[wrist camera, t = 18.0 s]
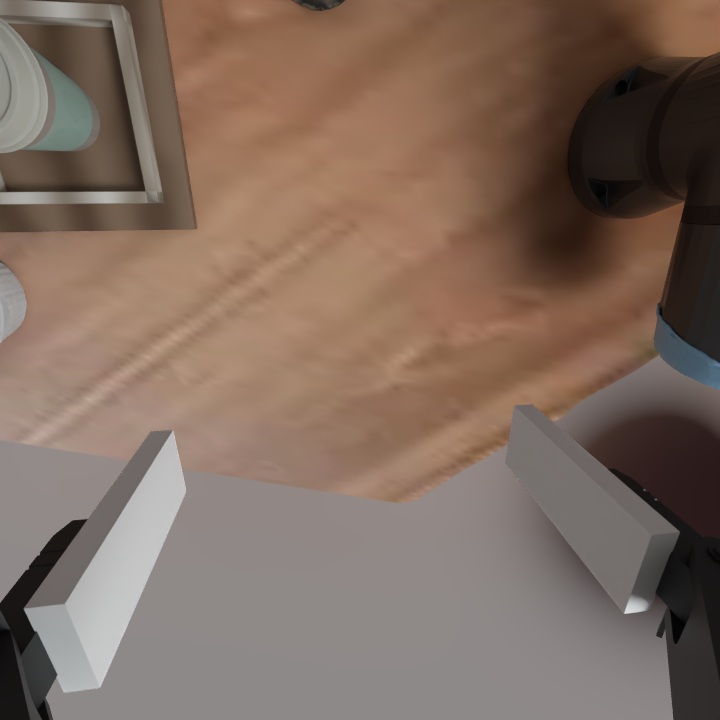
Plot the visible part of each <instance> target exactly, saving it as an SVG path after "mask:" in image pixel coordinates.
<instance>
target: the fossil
mask: <svg viewBox="0 0 720 720" xmlns="http://www.w3.org/2000/svg"><path fill="white" fill-rule="evenodd" d="M293 1H296V2H298V3H300V5H301V6H304V7H307V8H308V9H310V10H317V11H323V10H327V9H331V8H333V7H336V6H338V5H340V4H341V3H343V2H344V1H345V0H293Z"/></svg>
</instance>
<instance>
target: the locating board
mask: <svg viewBox="0 0 720 720" xmlns="http://www.w3.org/2000/svg"><path fill="white" fill-rule="evenodd" d="M0 18H1V19H3V20H4V21H5V22H6V23H7V24H9V25H10V26H11V27H12V28H13V29H14V30H15V31H16V32H17V33H18V34H19V35H20V37H21V38H22V39H23V40H24V41H25V43H26V44H28V45H29V46H30V47H31V48H33V49H34V50H35V51H36V52H38V53H39V54H40V55H41V56H43V57H44V58H45V59H46V60H48V61H49V62H50V63H51V64H53V65H54V66H55V67H56V68H58V69H59V70H60V71H61V72H63V73H64V74H65V75H67V76H68V77H69V78H70V79H71V80H73V81H74V82H75V83H76V84H78V85H79V86H80V87H81V88H82V89H84V90H85V91H86V92H87V94H88V95H89V96H90V97H91V99H92V100H93V102H94V104H95V106H96V108H97V110H98V114H99V118H100V131H99V134H98V137H97V139H96V141H95V142H94V143H93V144H92V145H91V146H90V147H88V148H87V149H84V150H82V151H47V150H21V149H19V150H16V151H13V152H8V153H0V232H43V231H108V230H173V229H197V224H196V217H195V211H194V205H193V198H192V192H191V186H190V179H189V173H188V167H187V160H186V154H185V147H184V141H183V135H182V128H181V122H180V116H179V109H178V103H177V97H176V90H175V84H174V77H173V71H172V65H171V58H170V52H169V46H168V39H167V33H166V27H165V20H164V14H163V7H162V1H161V0H0Z"/></svg>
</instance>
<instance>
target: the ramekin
mask: <svg viewBox="0 0 720 720" xmlns="http://www.w3.org/2000/svg"><path fill="white" fill-rule="evenodd" d="M26 305H27V303H26V297H25V293H24V290H23V288H22V286H21V284H20V282H19V280H18V279H17V278H16V276H15V275H14V274H13V273H12V272H11V270H10V269H9V268H8V267H6V266H5V265H4V264H3V263H2V262H0V343H1V342H2V340H4V339H5V338H6V337H8V336H9V335H10V334H12V333H13V332H14V331H15V330H17V329H18V327H19V326H20V325H21V323H22V321H23V320H24V317H25V315H26V310H27V309H26Z"/></svg>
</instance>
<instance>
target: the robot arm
mask: <svg viewBox="0 0 720 720" xmlns="http://www.w3.org/2000/svg"><path fill="white" fill-rule="evenodd" d="M568 167H569V175H570V180H571V183H572V186H573V189H574V191H575V193H576V195H577V197H578V198H579V200H580V201H581V202H582V203H583V205H584V206H585V207H587V208H588V209H589V210H590V211H592V212H593V213H595V214H597V215H600V216H603V217H607V218H622V219H630V218H639V217H643V216H647V215H650V214H653V213H655V212H658V211H661V210H663V209H666V208H669V207H671V206H674V205H676V204H679V203H682V202H684V201H685V204H684V209H683V213H682V217H681V221H680V224H679V228H678V232H677V237H676V241H675V245H674V249H673V253H672V257H671V261H670V265H669V269H668V273H667V277H666V281H665V285H664V289H663V293H662V297H661V301H660V302H659V303H658V305H657V309H656V314H657V324H656V329H655V335H654V345H655V348H656V350H657V351H658V353H659V354H660V356H661V358H662V359H663V360H664V361H665V362H666V363H667V364H668V365H670V366H671V367H672V368H674V369H675V370H677V371H678V372H680V373H682V374H684V375H685V376H688V377H690V378H692V379H694V380H696V381H698V382H700V383H703V384H705V385H708V386H710V387H713V388H716V389H719V390H720V52H719V53H716V54H713V55H711V56H708V57H658V58H653V59H649V60H646V61H643V62H640V63H638V64H636V65H633V66H631V67H629V68H627V69H625V70H623V71H620V72H619V73H617V74H615V75H614V76H612V77H611V78H610V79H608V80H607V81H606V82H605V83H604V84H602V85H601V86H600V87H599V88H598V89H597V90H596V92H595V93H594V94H593V95H592V96H591V98H590V99H589V100H588V102H587V103H586V105H585V106H584V108H583V110H582V112H581V114H580V115H579V118H578V120H577V122H576V125H575V127H574V130H573V133H572V137H571V141H570V146H569V155H568ZM506 464H507V465H508V466H509V468H510V469H511V470H512V471H513V473H514V474H515V475H516V477H517V478H518V479H519V481H520V482H521V483H522V484H523V485H524V487H525V488H526V489H527V491H528V492H529V493H530V494H531V496H532V497H533V498H534V500H535V501H536V502H537V503H538V505H539V506H540V507H541V509H542V510H543V511H544V512H545V514H546V515H547V516H548V518H549V519H550V520H551V521H552V523H554V525H555V527H556V528H557V529H558V530H559V532H560V533H561V534H562V535H563V537H564V538H565V539H566V540H567V542H568V543H569V544H570V546H571V547H572V548H573V550H574V551H575V552H576V553H577V555H578V556H579V557H580V558H581V560H582V561H583V562H584V563H585V565H586V566H587V567H588V568H589V570H590V571H591V572H592V574H593V575H594V576H595V578H596V579H597V580H598V581H599V583H600V584H601V585H602V587H603V588H604V589H605V590H606V592H607V593H608V594H609V595H610V597H611V598H612V599H613V601H614V602H615V603H616V604H617V606H618V607H619V608H620V610H621V611H622V612H623V613H624V614H626V613H633V612H640V611H647V610H650V608H651V606H652V603H653V601H654V598H655V595H656V594H657V595H658V596H659V597H660V598H661V599H662V600H663V601H664V603H665V604H666V605H667V608H666V611H665V613H664V615H663V618H662V620H661V623H660V625H659V628H658V631H657V635H656V636H658V637H660V638H662V636H663V633H664V631H666V640H667V653H668V664H669V675H670V684H671V685H670V686H671V697H672V707H673V718H674V720H720V539H718V538H713V537H702V536H701V535H700V534H699V533H697V532H696V531H695V530H694V529H693V528H691V527H690V526H689V525H688V524H686V523H685V522H684V521H683V520H682V519H680V518H679V517H678V516H677V515H676V514H675V513H673V512H672V511H671V510H670V509H668V508H667V507H666V506H665V505H664V504H662V503H661V502H660V501H659V502H658V501H657V499H656V498H655V497H654V496H653V495H651V494H650V493H649V492H646V491H645V489H644V488H643V487H642V486H641V485H639V484H638V483H637V482H636V481H635V480H633V479H632V478H631V477H628V476H627V475H625V474H623V473H621V472H619V471H617V470H616V469H607V468H605V467H604V466H603V465H602V464H601V463H600V462H598V461H597V460H596V459H595V458H594V457H593V456H591V455H590V454H589V453H588V452H587V451H586V450H584V449H583V448H582V447H581V446H580V445H579V444H578V443H576V442H575V441H574V440H573V439H572V438H571V437H570V436H568V435H567V434H566V433H565V432H564V431H563V430H561V429H560V428H559V427H558V426H557V425H555V424H554V423H553V422H552V421H551V420H550V419H549V418H547V417H546V416H545V415H544V414H543V413H542V412H541V411H539V410H538V409H537V408H536V407H535V406H534V405H532V404H530V405H516V406H514V411H513V417H512V424H511V430H510V437H509V443H508V450H507V457H506ZM185 493H186V487H185V482H184V478H183V473H182V468H181V464H180V459H179V455H178V450H177V446H176V441H175V436H174V432H173V430H167V431H153V432H150V434H149V435H148V436H147V438H146V439H145V441H144V442H143V443H142V445H141V446H140V448H139V449H138V450H137V452H136V453H135V455H134V456H133V457H132V459H131V460H130V461H129V463H128V464H127V466H126V467H125V468H124V470H123V471H122V473H121V474H120V476H119V477H118V478H117V480H116V481H115V482H114V484H113V485H112V487H111V488H110V489H109V491H108V492H107V493H106V495H105V496H104V498H103V499H102V501H101V502H100V503H99V505H98V506H97V507H96V509H95V510H94V512H93V513H92V514H91V516H90V517H89V518H88V519H85V520H73V521H71V522H70V523H69V524H68V525H66V526H65V527H64V528H62V529H61V530H60V531H59V532H57V533H56V534H55V535H54V536H53V537H52V538H51V539H50V541H49V542H48V543H47V544H46V546H45V547H44V548H43V550H42V551H41V552H40V556H37V557H36V558H35V560H34V561H33V562H32V563H31V565H30V566H29V569H28V570H26V571H25V572H24V574H23V575H22V576H21V577H20V579H19V580H18V581H17V582H16V584H15V585H14V586H13V587H12V589H11V590H10V591H9V593H8V594H7V595H6V596H5V598H4V599H3V600H2V601H1V603H0V720H53V718H52V714H51V711H50V707H49V704H48V702H47V700H46V698H45V697H46V695H47V693H48V691H49V690H50V688H51V686H52V684H53V682H54V680H55V679H56V677H57V679H58V681H59V683H60V686H61V687H62V690H63V692H64V693H66V692H73V691H80V690H88V689H95V688H100V687H101V685H102V682H103V680H104V678H105V675H106V673H107V671H108V669H109V666H110V664H111V662H112V659H113V657H114V655H115V653H116V650H117V648H118V646H119V643H120V641H121V639H122V637H123V634H124V632H125V630H126V628H127V625H128V623H129V621H130V618H131V616H132V614H133V612H134V609H135V607H136V605H137V603H138V600H139V598H140V596H141V593H142V591H143V589H144V587H145V584H146V582H147V580H148V577H149V575H150V573H151V570H152V568H153V566H154V564H155V561H156V559H157V557H158V555H159V552H160V550H161V548H162V546H163V543H164V541H165V539H166V536H167V534H168V532H169V530H170V527H171V525H172V523H173V520H174V518H175V516H176V514H177V511H178V509H179V507H180V505H181V502H182V500H183V498H184V496H185Z"/></svg>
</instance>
